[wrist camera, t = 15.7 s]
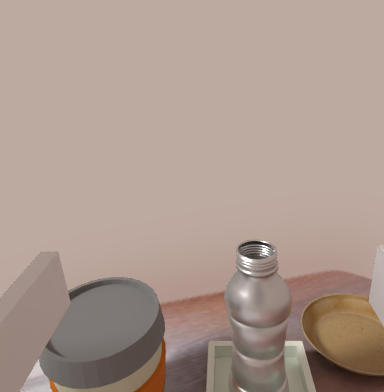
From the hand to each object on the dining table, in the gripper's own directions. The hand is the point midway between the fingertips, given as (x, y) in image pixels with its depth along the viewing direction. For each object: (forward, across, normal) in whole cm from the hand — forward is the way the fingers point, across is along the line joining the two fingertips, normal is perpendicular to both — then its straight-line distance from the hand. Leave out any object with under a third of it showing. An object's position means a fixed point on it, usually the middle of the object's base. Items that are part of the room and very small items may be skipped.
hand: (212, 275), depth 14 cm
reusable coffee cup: (+14, -12, -30) cm, 35 cm away
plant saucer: (+25, +18, -30) cm, 43 cm away
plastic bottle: (+15, +4, -28) cm, 33 cm away
